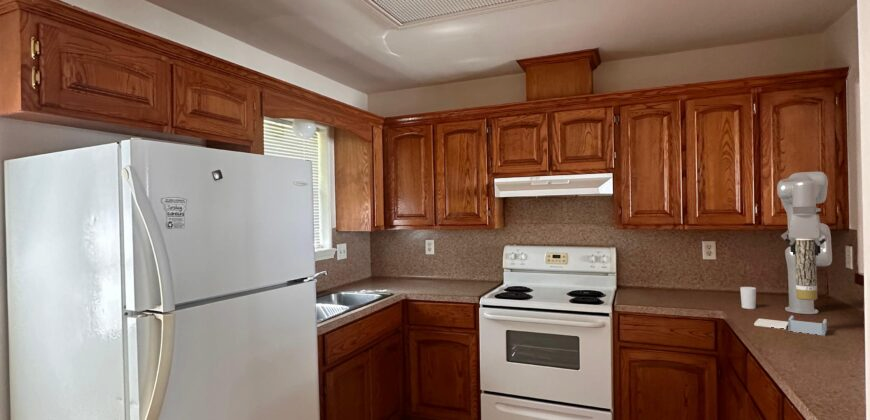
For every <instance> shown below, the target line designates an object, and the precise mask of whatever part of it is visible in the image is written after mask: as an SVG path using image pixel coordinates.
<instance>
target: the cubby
mask: <svg viewBox="0 0 870 420" xmlns="http://www.w3.org/2000/svg"><path fill="white" fill-rule="evenodd" d="M787 322H788V327H787V329H788V332H790V331H793V332H792V333H799V332H802V334H807V333H809V335H815V334H817V335H816V336H826V335H827V334H826V333H827V331H828V322H827V318H824V319H823V321H822V323H820V322H813V321H803V320H802V321H801V320H796V319H795V318H794V315H790V316H789V318H788V320H787ZM825 334H826V335H825Z"/></svg>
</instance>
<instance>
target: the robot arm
mask: <svg viewBox="0 0 870 420" xmlns="http://www.w3.org/2000/svg"><path fill="white" fill-rule="evenodd" d="M828 185H829V180H828V176H827V174H825V173H824V172H823V171H802V172H801V171H800V172H794V173H793V174H790V176H788V178H784V179H780V180H779V181H778V183H777V185H776V186H777V187H776V192H777V197H778V198H779V199H780V202H781V204H782V207H783V209H784V210H785V212H786V216H787V230H786V231H785V232H784V233H782V234H781V235H780V237H781V238H782V239H783V240H784V241H785V242H786V243H787V244H788V245H790V246H788V247H787V248H786V249H785V251H784V255H785V260H786V261H785V262H786V266H787V279H788V282H787V283H788V306H786V307H785V308H784V310H785V311H786V312H789V313H793V314H800V315H801V314H804V315H815V314H818V313H819V310H818V309H816V308H815V306H814V305H815V303H814V302H815V300H801V299H798V298H797V297H796V268H795V239H797V238H807V239H815V242H816V246H815V250H816V267H828V266H830V265H831V264H832V262H833V252H832V236H831V230H830V227H829V226H828V225H827V224H825V223H822V222H821V220H820V215H819V214H817V213H818V212H820V213H821V211H822V210H821V209H822V208H819V207H817V205H816V204H823V203H825V201H826V200H827V195H828Z"/></svg>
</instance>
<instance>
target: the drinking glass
mask: <svg viewBox="0 0 870 420" xmlns="http://www.w3.org/2000/svg"><path fill="white" fill-rule="evenodd" d="M739 288H740V289H739V291H740V300H741V301H740V302H741V308H742V309H747V310H755V309H756V305H757V304H756V302H757V301H756V300H757V288H756V287H754V286H753V287H752V286H740V287H739Z"/></svg>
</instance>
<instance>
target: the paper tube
mask: <svg viewBox="0 0 870 420" xmlns="http://www.w3.org/2000/svg"><path fill="white" fill-rule="evenodd" d="M815 246H816V242H815V239H807V238H797V239H795V268H796V297H797V298H798V299H801V300H814V301H817V299H818V278H817V277H818V275H817V270H818V269H817V266H816V250H815Z"/></svg>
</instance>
